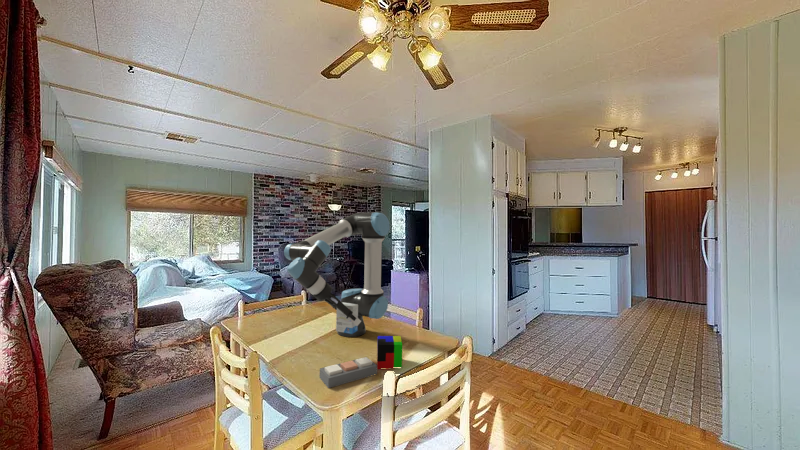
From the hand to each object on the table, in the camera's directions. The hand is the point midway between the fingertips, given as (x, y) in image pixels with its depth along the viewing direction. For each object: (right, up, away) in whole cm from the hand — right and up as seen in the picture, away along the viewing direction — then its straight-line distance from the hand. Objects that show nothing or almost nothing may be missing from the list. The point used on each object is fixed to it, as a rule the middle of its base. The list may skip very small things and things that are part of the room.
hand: (353, 320), depth 139 cm
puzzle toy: (+16, -17, -6) cm, 24 cm away
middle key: (+1, -14, -17) cm, 22 cm away
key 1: (-5, -14, -21) cm, 26 cm away
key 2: (+6, -14, -14) cm, 21 cm away
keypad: (+1, -16, -17) cm, 24 cm away
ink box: (-3, -4, -2) cm, 5 cm away
